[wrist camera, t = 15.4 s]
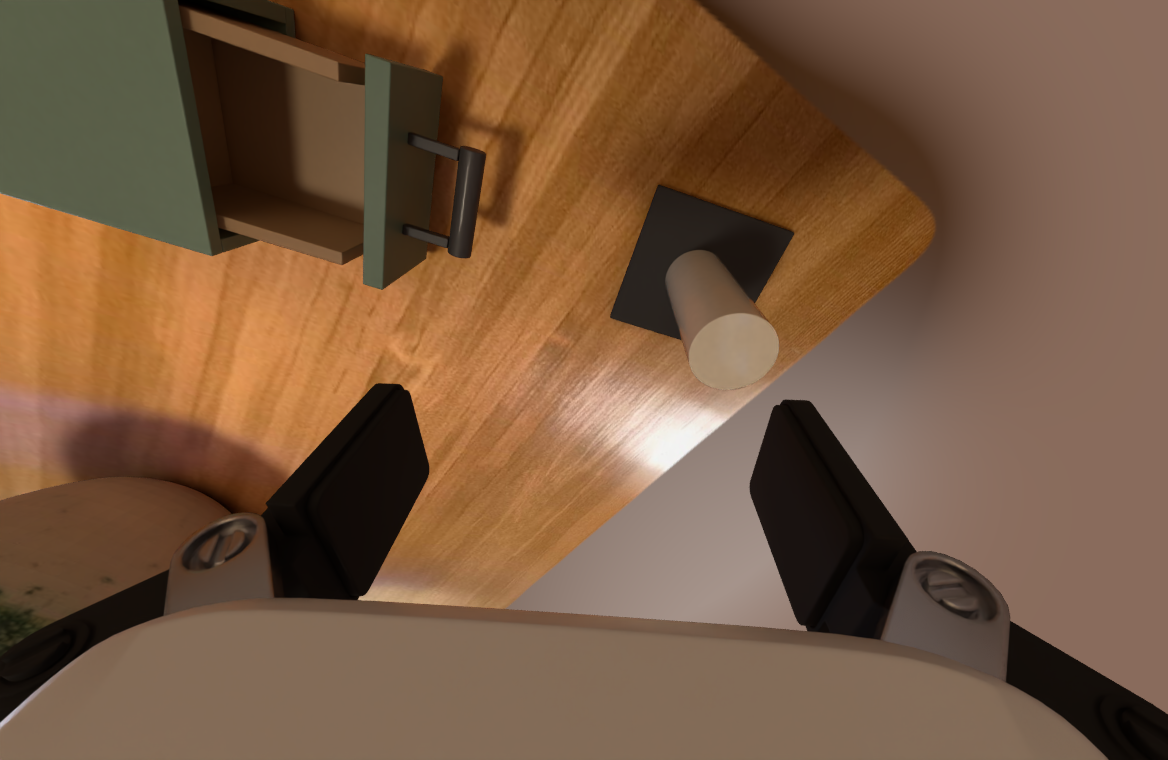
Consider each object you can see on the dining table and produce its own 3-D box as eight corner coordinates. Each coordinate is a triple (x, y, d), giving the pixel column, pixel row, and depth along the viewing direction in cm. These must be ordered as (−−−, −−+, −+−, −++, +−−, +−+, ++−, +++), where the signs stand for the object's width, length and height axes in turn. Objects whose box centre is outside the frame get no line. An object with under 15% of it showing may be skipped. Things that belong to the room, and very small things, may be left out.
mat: (658, 184, 28) (659, 185, 27) (791, 231, 29) (795, 233, 28) (610, 315, 33) (610, 318, 32) (724, 350, 34) (726, 354, 33)
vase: (328, 595, 58) (106, 960, 33) (123, 563, 57) (-268, 914, 32) (283, 448, 43) (-190, 911, 18) (5, 401, 42) (-919, 821, 17)
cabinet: (294, 9, 24) (154, -40, 17) (307, 224, 31) (212, 256, 23) (20, -90, 22) (-265, -192, 15) (97, 159, 29) (-76, 171, 22)
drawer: (511, 101, 25) (481, 94, 19) (481, 276, 31) (451, 311, 25) (206, -9, 23) (70, -53, 17) (237, 199, 29) (143, 218, 23)
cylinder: (679, 241, 29) (712, 301, 19) (736, 260, 29) (797, 328, 20) (656, 297, 31) (674, 376, 21) (709, 315, 32) (751, 399, 22)
